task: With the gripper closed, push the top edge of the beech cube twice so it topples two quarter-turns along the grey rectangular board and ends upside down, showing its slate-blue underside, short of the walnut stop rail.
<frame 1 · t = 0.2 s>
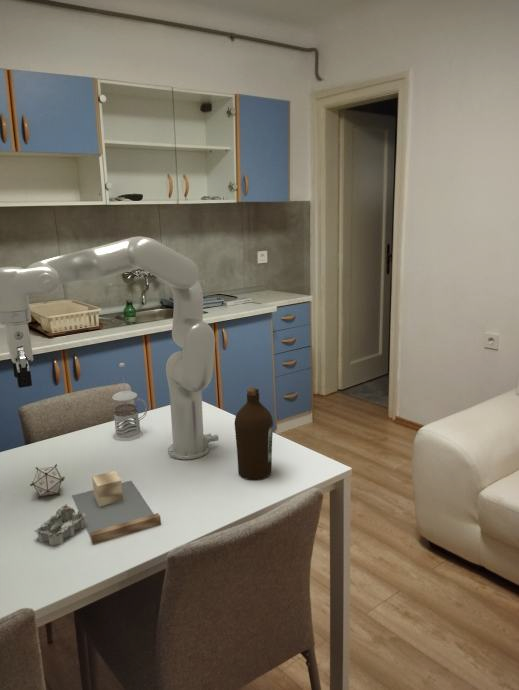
hand: (23, 381, 145), 31 cm above the table, fingers open, 9 cm apart
carved stone fragment: (63, 533, 132), on the table, touching grey rectangular board
block: (108, 499, 146), resting on grey rectangular board
grey rectangular board: (113, 508, 142), on the table
stop rail: (127, 533, 131), on the table
french press: (130, 435, 187), on the table
game die: (49, 495, 149), on the table
olive oil: (255, 473, 159), on the table
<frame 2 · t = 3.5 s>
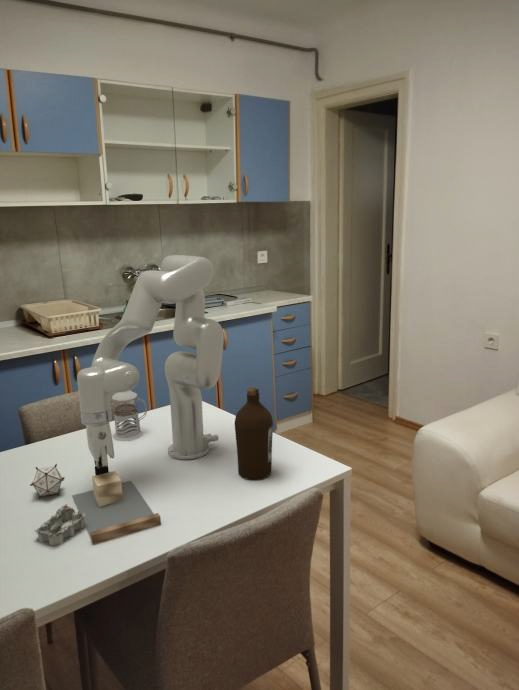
hand: (102, 479, 149), 4 cm above the table, fingers closed
block: (108, 499, 146), resting on grey rectangular board, touching gripper
everything else where it was.
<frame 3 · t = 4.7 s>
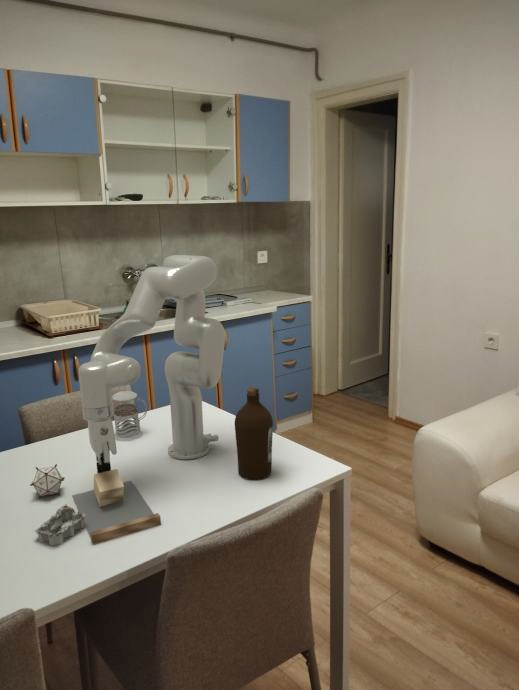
hand: (104, 476, 146), 6 cm above the table, fingers closed
block: (108, 495, 145), point 2 cm above the table, tilted 24°, touching gripper, grey rectangular board
everything else where it was.
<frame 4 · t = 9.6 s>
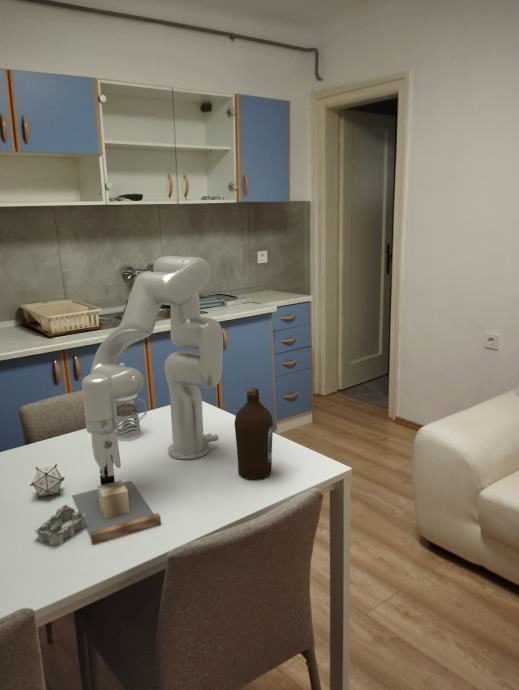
hand: (108, 489, 144), 4 cm above the table, fingers closed
block: (110, 493, 142), point 3 cm above the table, tilted 90°, touching gripper, grey rectangular board
everything else where it was.
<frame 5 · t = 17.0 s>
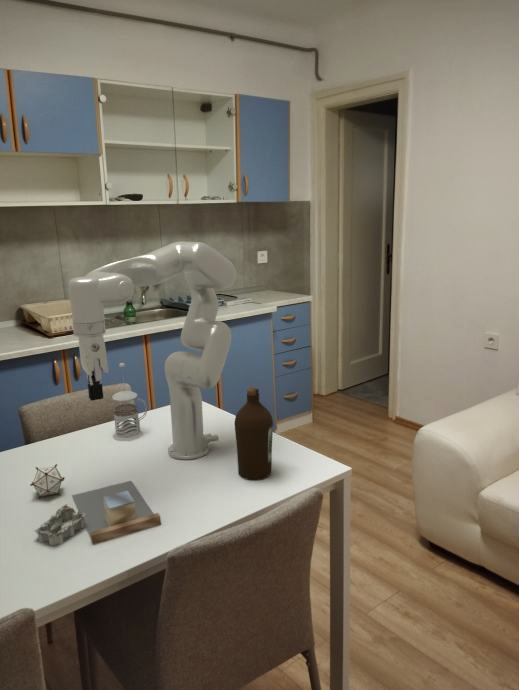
hand: (96, 398, 141), 27 cm above the table, fingers closed
block: (118, 499, 134), point 6 cm above the table, tilted 180°, touching grey rectangular board
everything else where it was.
at the end: block tilted 180°; block inside the target area (0.1 cm from its centre), point 6.3 cm above the table; block moved 13.4 cm from its start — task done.
